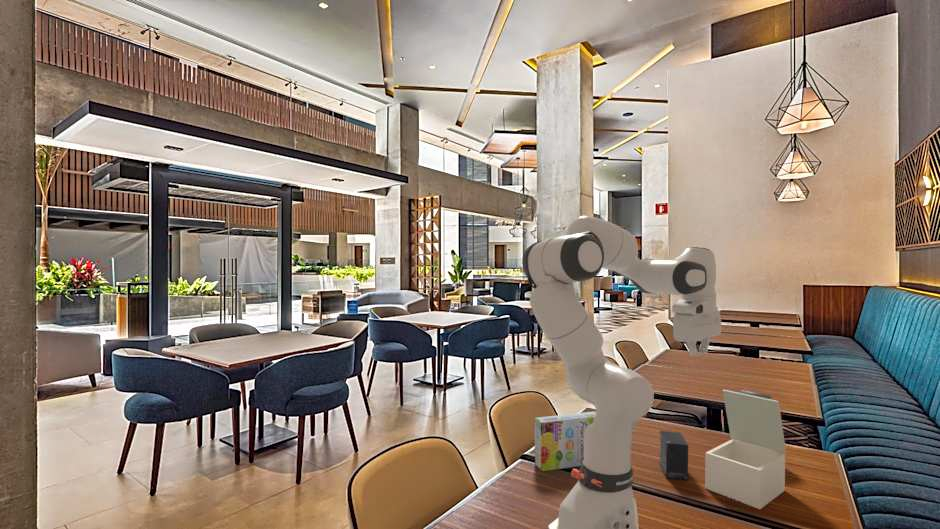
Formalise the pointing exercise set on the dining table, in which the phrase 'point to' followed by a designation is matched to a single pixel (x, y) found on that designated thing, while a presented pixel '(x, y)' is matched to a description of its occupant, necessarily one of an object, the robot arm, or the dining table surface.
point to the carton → (745, 473)
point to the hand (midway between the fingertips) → (698, 354)
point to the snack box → (560, 440)
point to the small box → (673, 455)
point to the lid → (754, 419)
